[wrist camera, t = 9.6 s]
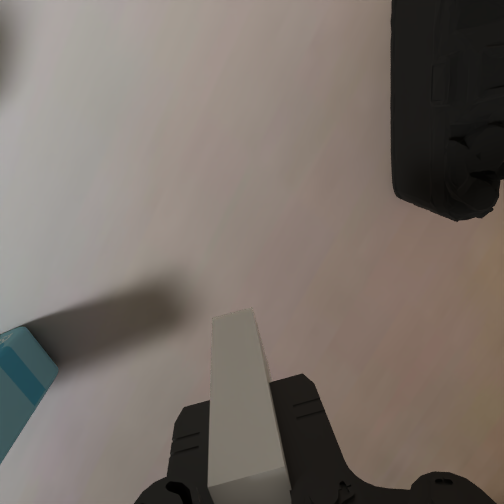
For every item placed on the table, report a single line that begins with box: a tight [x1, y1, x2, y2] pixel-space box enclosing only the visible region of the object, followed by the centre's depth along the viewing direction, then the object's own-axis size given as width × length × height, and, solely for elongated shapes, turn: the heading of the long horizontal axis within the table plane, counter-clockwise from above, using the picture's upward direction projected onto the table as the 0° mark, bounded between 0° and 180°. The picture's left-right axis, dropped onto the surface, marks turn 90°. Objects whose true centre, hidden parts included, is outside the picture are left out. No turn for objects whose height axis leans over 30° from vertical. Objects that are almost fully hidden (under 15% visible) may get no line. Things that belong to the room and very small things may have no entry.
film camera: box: [390, 0, 504, 222], centre depth 20 cm, size 15×10×9 cm, turn 8°
